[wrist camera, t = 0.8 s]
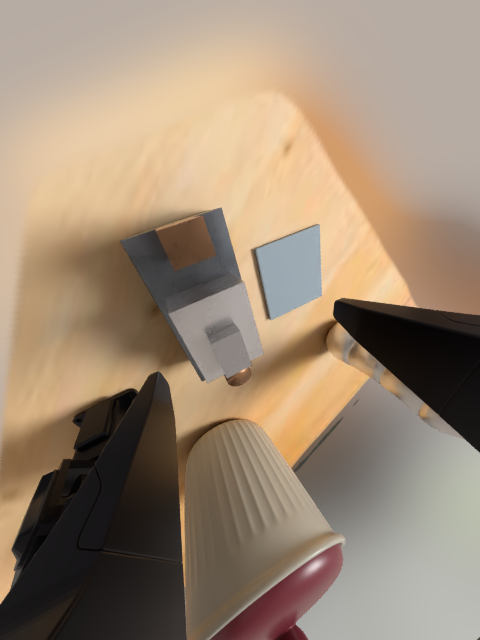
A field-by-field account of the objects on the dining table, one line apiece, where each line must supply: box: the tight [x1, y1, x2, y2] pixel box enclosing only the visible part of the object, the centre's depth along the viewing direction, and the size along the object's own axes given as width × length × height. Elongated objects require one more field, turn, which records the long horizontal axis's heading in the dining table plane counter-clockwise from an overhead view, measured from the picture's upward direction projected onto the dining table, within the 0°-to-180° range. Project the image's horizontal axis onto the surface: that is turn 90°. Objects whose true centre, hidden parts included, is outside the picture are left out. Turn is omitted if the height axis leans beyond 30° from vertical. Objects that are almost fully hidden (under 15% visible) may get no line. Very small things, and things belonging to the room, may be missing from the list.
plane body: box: [120, 208, 251, 386], centre depth 16 cm, size 14×7×8 cm, turn 16°
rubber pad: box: [255, 224, 322, 320], centre depth 22 cm, size 9×8×1 cm
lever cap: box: [166, 272, 264, 383], centre depth 15 cm, size 7×5×4 cm
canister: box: [185, 419, 345, 640], centre depth 23 cm, size 18×18×21 cm
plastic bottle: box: [326, 322, 464, 439], centre depth 23 cm, size 6×7×20 cm
